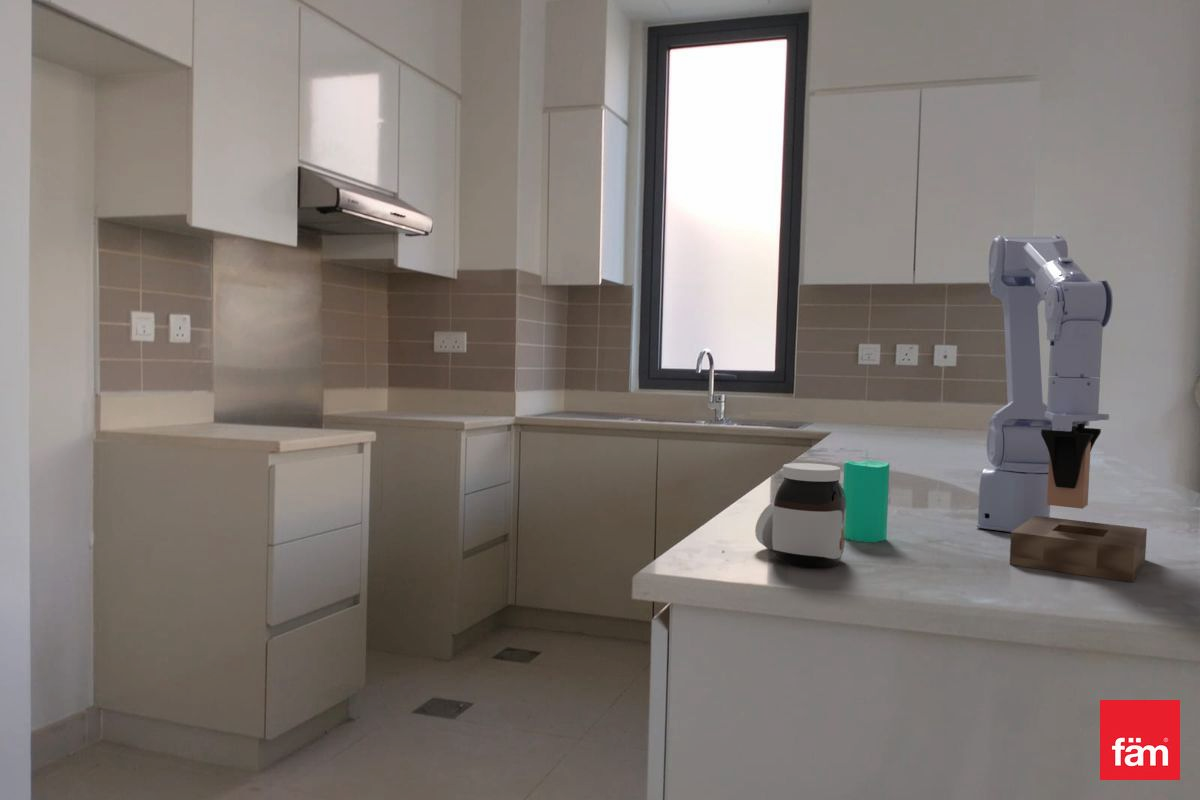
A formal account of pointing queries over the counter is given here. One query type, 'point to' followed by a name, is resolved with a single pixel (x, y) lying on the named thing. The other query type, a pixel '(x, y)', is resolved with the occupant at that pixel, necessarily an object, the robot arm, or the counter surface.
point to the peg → (1071, 495)
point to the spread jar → (806, 517)
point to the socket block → (1079, 547)
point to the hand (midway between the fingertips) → (1068, 485)
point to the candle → (866, 500)
